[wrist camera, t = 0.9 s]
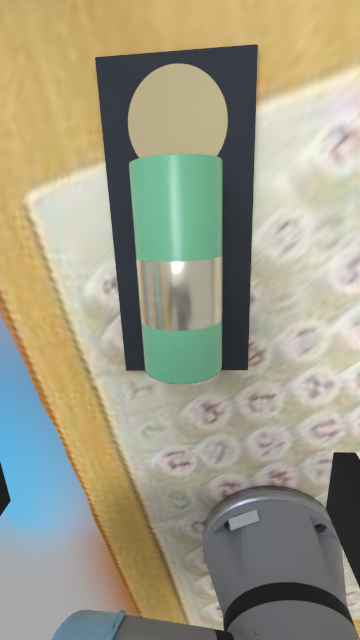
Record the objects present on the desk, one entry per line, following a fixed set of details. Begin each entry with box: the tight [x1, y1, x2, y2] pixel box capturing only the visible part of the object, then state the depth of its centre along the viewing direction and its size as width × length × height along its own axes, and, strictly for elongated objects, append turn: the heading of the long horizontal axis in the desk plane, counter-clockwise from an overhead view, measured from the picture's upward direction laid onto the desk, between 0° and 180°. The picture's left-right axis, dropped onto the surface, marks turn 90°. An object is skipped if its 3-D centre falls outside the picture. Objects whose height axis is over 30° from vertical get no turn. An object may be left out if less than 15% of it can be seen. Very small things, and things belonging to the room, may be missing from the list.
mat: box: [95, 45, 258, 370], centre depth 27 cm, size 26×12×1 cm, turn 2°
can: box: [129, 153, 223, 384], centre depth 24 cm, size 16×7×7 cm, turn 2°
